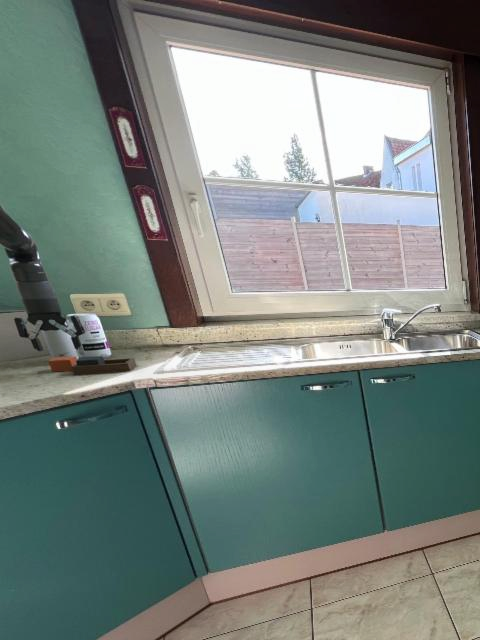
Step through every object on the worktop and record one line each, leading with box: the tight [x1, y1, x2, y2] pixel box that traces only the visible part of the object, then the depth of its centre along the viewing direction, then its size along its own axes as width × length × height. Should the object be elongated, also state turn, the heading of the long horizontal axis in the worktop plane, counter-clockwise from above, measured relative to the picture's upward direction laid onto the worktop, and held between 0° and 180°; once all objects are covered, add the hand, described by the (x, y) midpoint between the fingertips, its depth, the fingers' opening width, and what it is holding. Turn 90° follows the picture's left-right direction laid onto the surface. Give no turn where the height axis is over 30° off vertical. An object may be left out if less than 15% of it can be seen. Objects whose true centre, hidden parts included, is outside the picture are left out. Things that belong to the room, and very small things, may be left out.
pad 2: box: [76, 356, 105, 366], centre depth 157 cm, size 5×6×4 cm
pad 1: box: [47, 356, 77, 373], centre depth 158 cm, size 5×6×4 cm
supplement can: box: [66, 312, 112, 359], centre depth 173 cm, size 8×8×15 cm
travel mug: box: [41, 321, 80, 360], centre depth 165 cm, size 6×7×20 cm
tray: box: [72, 357, 137, 376], centre depth 159 cm, size 13×9×3 cm
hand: (59, 349), depth 157 cm, fingers open, 8 cm apart
